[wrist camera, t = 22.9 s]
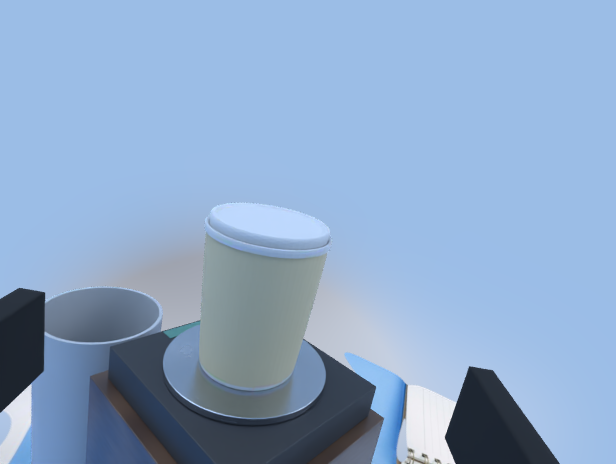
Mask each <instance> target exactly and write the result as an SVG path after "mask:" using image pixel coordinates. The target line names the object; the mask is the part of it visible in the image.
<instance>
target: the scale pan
mask: <svg viewBox="0 0 616 464" xmlns="http://www.w3.org/2000/svg"><path fill="white" fill-rule="evenodd" d="M199 340H200V325H197V326H194V327H192V328H190V329H188V330H186V331H184V332H183V333H181V334H180V335H178V336H177V337H176V338H175V339H174V340H173V341H172V342H171V343H170V344H169V346H168V347H167V349H166V351H165V354H164V357H163V365H162V372H163V378H164V381H165V383H166V385H167V387H168V389H169V390H170V392H171V393H172V394H173V395H174V397H175V398H176V399H178V400H179V401H180V402H181V403H182V404H183V405H185V406H186V407H188V408H189V409H191V410H193V411H194V412H196V413H198V414H200V415H203V416H205V417H208V418H210V419H213V420H217V421H220V422H224V423H230V424H236V425H248V426H255V425H268V424H275V423H279V422H284V421H287V420H290V419H292V418H295V417H297V416H299V415H301V414H303V413H304V412H306V411H307V410H308V409H310V408H311V407H312V406H313V405H314V404H315V403H316V402H317V401H318V399H319V398H320V396H321V394H322V392H323V389H324V385H325V380H326V371H325V367H324V364H323V361H322V359H321V357H320V356H319V354H318V353H317V352H316V351H315V349H314V348H313V347H312V346H311V345H309V344H308V343H307V342H306V341H304V340H303V341H302V344H301V348H300V351H299V355H298V358H297V361H296V364H295V367H294V370H293V372H292V374H291V376H290V377H289V378H288V379H287V380H286V381H285V382H284V383H282V384H280V385H279V386H276V387H274V388H271V389H267V390H260V391H245V390H238V389H234V388H230V387H227V386H224V385H222V384H220V383H218V382H216V381H214V380H213V379H211V378H210V377H209V376H208V375H207V374H206V373H205V372H204V370H203V369H202V367H201V364H200V361H199Z"/></svg>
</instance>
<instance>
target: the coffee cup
mask: <svg viewBox="0 0 616 464" xmlns="http://www.w3.org/2000/svg"><path fill="white" fill-rule="evenodd" d="M205 231H206V238H205V251H204V267H203V283H202V284H203V285H202V303H201V321H200V340H199V361H200V364H201V367H202V369H203V370H204V372H205V373H206V374H207V375H208V376H209V377H210V378H211V379H213V380H214V381H216V382H218V383H220V384H222V385H224V386H227V387H230V388H234V389H238V390H245V391H260V390H267V389H271V388H274V387H276V386H279V385H280V384H282V383H284V382H285V381H286V380H287V379H288V378H289V377H290V376H291V374H292V372H293V370H294V367H295V364H296V361H297V358H298V355H299V351H300V348H301V344H302V341H303V337H304V334H305V331H306V327H307V323H308V320H309V317H310V313H311V310H312V307H313V303H314V300H315V296H316V293H317V289H318V286H319V282H320V279H321V275H322V271H323V268H324V264H325V260H326V256H327V252H328V251H329V250H330V248H331V245H332V238H331V237H330V230H329V228H328V226H327V225H326V224H324V223H323V222H321V221H320V220H318V219H316V218H314V217H312V216H309V215H306V214H304V213H301V212H297V211H294V210H290V209H286V208H281V207H277V206H271V205H264V204H254V203H228V204H222V205H218V206H216V207H214V208H213V209H212V210H211V212H210V215H209V216H207V218H206V219H205Z"/></svg>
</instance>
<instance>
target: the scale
mask: <svg viewBox="0 0 616 464" xmlns="http://www.w3.org/2000/svg"><path fill="white" fill-rule="evenodd" d="M200 321H201V320H200ZM200 321H196V322H193V323H189V324H186V325H182V326H179V327H176V328H172V329H169V330H165V331H162V332H158V333H155V334H151V335H148V336H144V337H141V338H137V339H134V340H130V341H127V342H123V343H120V344H117V345H113V346H110V354H109V369H108V379H109V380H110V381H111V382H112V383H113V385H114V386H115V387H116V388H117V390H118V391H119V392H120V393H121V395H122V396H123V397H124V398H125V399H126V401H127V402H128V403H129V404H130V406H131V407H132V408H133V409H134V411H135V412H136V413H137V414H138V416H139V417H140V418H141V419H142V420H143V422H144V423H145V424H146V425H147V427H148V428H149V429H150V430H151V432H152V433H153V434H154V435H155V436H156V438H157V439H158V440H159V441H160V443H161V444H162V445H163V446H164V448H165V449H166V450H167V451H168V452H169V454H170V455H171V456H172V457H173V459H174V460H175V461H176V462H177V464H307V463H308V462H309V461H311V460H312V459H313V458H315V457H316V456H317V455H318V454H320V453H321V452H322V451H324V450H325V449H326V448H327V447H329V446H330V445H331V444H333V443H334V442H335V441H336V440H338V439H339V438H340V437H342V436H343V435H344V434H345V433H347V432H348V431H349V430H351V429H352V428H353V427H354V426H356V425H357V424H358V423H360V422H361V421H362V420H364V419H365V418H366V417H367V416H368V415H369V411H370V408H371V404H372V400H373V397H374V393H375V390H376V386H374V385H373V384H371V383H370V382H368V381H367V380H365V379H364V378H362V377H361V376H359V375H358V374H356V373H355V372H353V371H352V370H350V369H349V368H347V367H345V366H344V365H342V364H341V363H339V362H338V361H336V360H335V359H333V358H332V357H330V356H329V355H327V354H326V353H324V352H323V351H321V350H320V349H318V348H317V347H315V346H314V345H312V344H310V343H309V342H307V341H306V340H304V339H303V340H304V341H306V342H307V343H308V344H309V345H311V346H312V347H313V348H314V349H315V351H316V352H317V353H318V354H319V356H320V357H321V359H322V361H323V364H324V367H325V371H326V380H325V385H324V389H323V392H322V394H321V396H320V398H319V399H318V401H317V402H316V403H315V404H314V405H313V406H312V407H311V408H310V409H308V410H307V411H306V412H304V413H303V414H301V415H299V416H297V417H295V418H292V419H290V420H287V421H284V422H279V423H275V424H268V425H255V426H248V425H236V424H230V423H224V422H220V421H217V420H213V419H210V418H208V417H205V416H203V415H200V414H198V413H196V412H194V411H193V410H191V409H189V408H188V407H186V406H185V405H183V404H182V403H181V402H180V401H179V400H178V399H176V398H175V397H174V395H173V394H172V393H171V392H170V390H169V389H168V387H167V385H166V383H165V381H164V378H163V372H162V365H163V357H164V354H165V351H166V349H167V347H168V346H169V344H170V343H171V342H172V341H173V340H174V339H175V338H176V337H177V336H178V335H180V334H181V333H183V332H184V331H186V330H188V329H190V328H192V327H194V326H197V325H200Z"/></svg>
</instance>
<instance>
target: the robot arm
mask: <svg viewBox="0 0 616 464" xmlns="http://www.w3.org/2000/svg"><path fill="white" fill-rule="evenodd" d="M44 337H45V293H44V292H40V291H34V290H28V289H23V288H19V289H17V290H15V291H13V292H11V293H10V294H8V295H6V296H4V297H3V298H1V299H0V412H2V411H3V410H4V409H5V408H6V407H7V406H8V405H9V404H10V403H11V402H12V401H13V400H14V399H15V398H16V397H17V396H18V395H19V394H21V393H22V392H23V391H24V390H25V389H26V388H27V387H28V386H29V385H30V384H31V383H32V382H33V381H34V380H35V379H36V378H37V377H38V376H39V375H40V374H42V373H43V372H44ZM445 439H446V442H447V444H448V447H449V449H450V451H451V454H452V456H453V459H454V461H455V463H456V464H559V462H558V461H557V459H556V458H555V457H554V455H553V454H552V452H551V451H550V449H549V448H548V447H547V445H546V444H545V442H544V441H543V440H542V438H541V437H540V436H539V434H538V433H537V432H536V430H535V429H534V427H533V426H532V424H531V423H530V422H529V420H528V419H527V417H526V416H525V415H524V414H523V412H522V410H521V409H520V408H519V406H518V405H517V404H516V402H515V401H514V399H513V398H512V396H511V395H510V394H509V392H508V391H507V389H506V388H505V387H504V386H503V384H502V383H501V381H500V380H499V379H498V377H497V375H496V374H495V373H494V371H493V370H487V369H481V368H476V367H469V369H468V372H467V375H466V377H465V380H464V383H463V387H462V389H461V392H460V395H459V398H458V401H457V404H456V406H455V409H454V412H453V415H452V418H451V421H450V424H449V427H448V430H447V433H446V435H445Z"/></svg>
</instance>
